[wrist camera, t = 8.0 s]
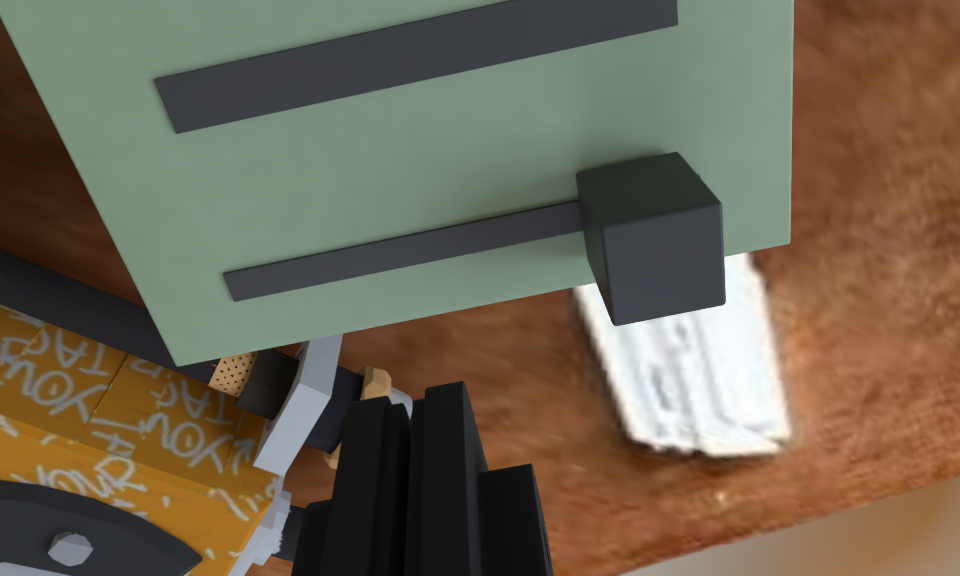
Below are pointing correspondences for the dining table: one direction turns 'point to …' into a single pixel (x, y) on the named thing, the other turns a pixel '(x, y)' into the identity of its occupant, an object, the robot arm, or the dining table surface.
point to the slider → (652, 238)
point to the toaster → (393, 144)
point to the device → (151, 437)
